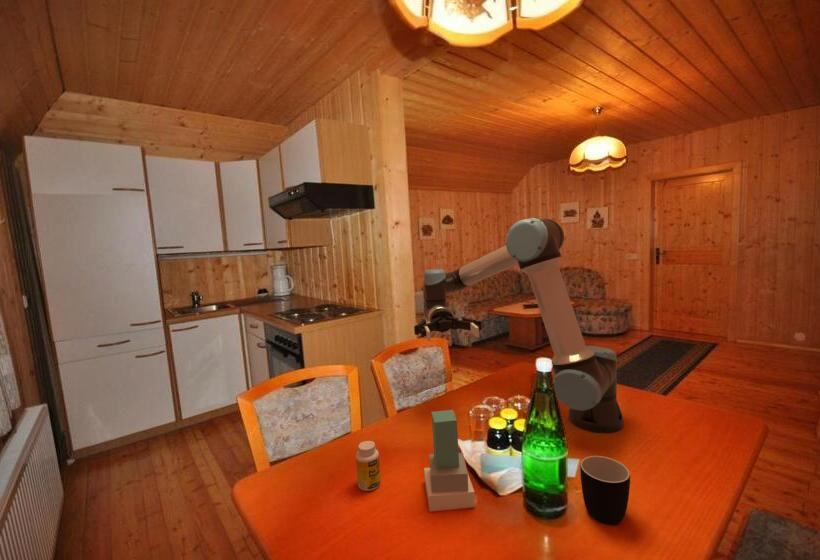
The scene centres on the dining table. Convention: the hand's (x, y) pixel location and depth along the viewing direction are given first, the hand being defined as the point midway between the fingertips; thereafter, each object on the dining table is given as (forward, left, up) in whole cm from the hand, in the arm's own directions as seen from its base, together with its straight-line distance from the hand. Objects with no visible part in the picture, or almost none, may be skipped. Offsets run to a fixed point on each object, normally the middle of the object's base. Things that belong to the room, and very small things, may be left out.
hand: (453, 334), depth 102 cm
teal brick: (+7, +19, -24) cm, 32 cm away
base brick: (+7, +20, -32) cm, 39 cm away
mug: (-24, +30, -32) cm, 50 cm away
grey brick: (+7, +20, -28) cm, 35 cm away
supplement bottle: (+25, +14, -32) cm, 43 cm away
